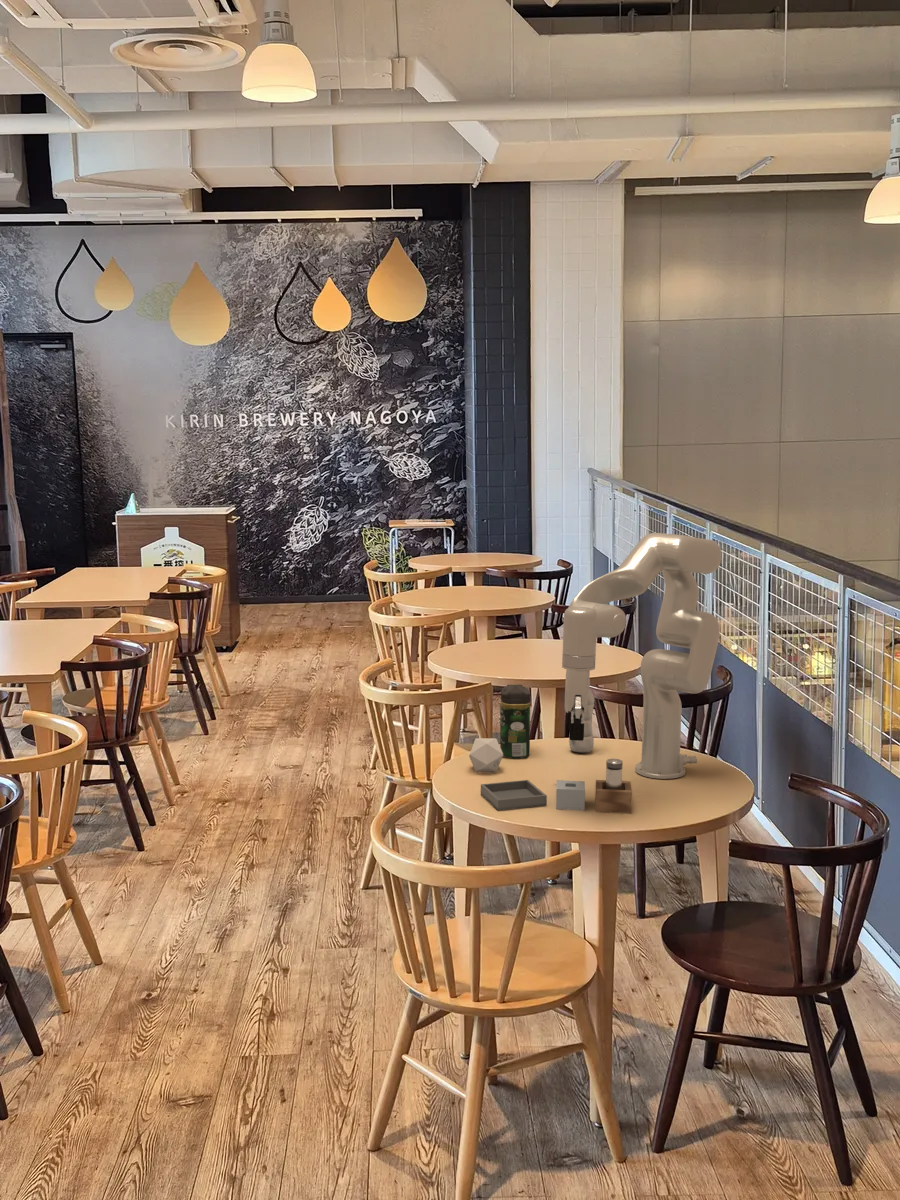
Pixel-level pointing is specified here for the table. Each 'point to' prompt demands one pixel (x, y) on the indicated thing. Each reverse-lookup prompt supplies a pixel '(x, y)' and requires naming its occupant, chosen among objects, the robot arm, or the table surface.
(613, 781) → the spice jar
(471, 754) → the die
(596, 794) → the block
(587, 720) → the plastic bottle
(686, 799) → the table surface
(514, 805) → the tray
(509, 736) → the coffee jar
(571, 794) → the small block
